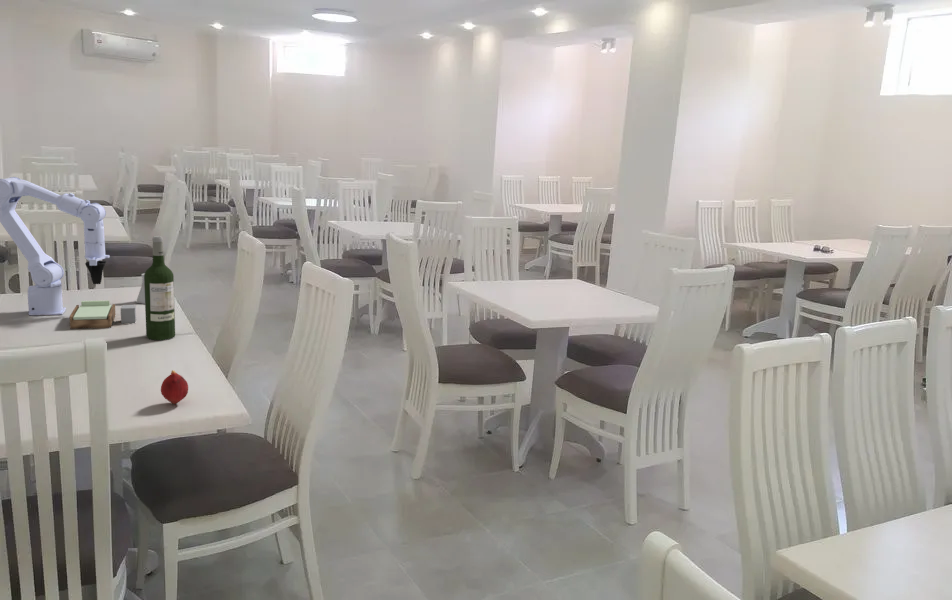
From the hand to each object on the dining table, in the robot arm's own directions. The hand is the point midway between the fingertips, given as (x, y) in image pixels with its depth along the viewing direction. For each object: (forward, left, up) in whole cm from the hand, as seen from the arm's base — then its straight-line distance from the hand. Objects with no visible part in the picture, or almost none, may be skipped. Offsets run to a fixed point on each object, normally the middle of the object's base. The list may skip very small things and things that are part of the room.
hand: (97, 283), depth 237 cm
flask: (+14, +15, -10) cm, 23 cm away
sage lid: (0, -11, -7) cm, 13 cm away
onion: (+25, -88, -10) cm, 92 cm away
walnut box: (0, -11, -10) cm, 15 cm away
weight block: (+10, -12, -10) cm, 18 cm away
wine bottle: (+20, -31, -10) cm, 38 cm away
